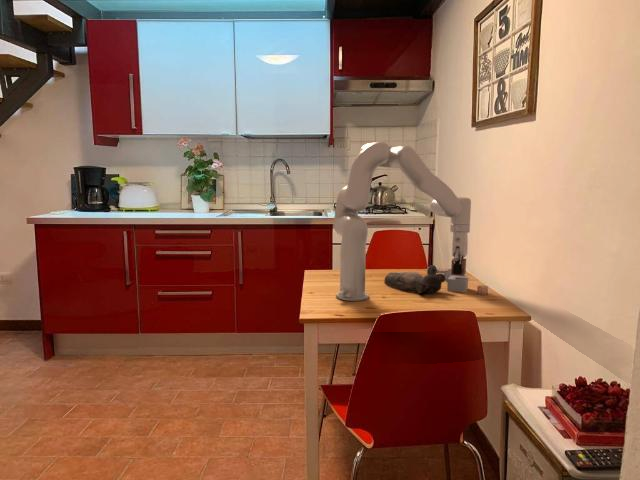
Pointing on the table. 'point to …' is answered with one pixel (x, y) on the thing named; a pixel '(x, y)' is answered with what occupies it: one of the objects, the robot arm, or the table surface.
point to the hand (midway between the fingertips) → (458, 272)
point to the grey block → (457, 284)
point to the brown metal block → (463, 262)
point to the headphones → (433, 270)
